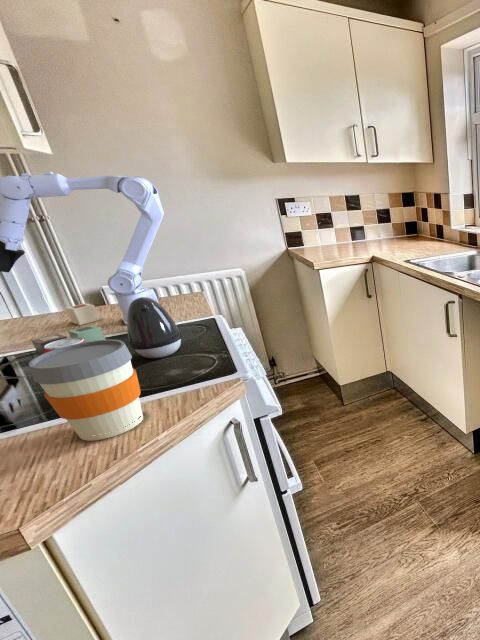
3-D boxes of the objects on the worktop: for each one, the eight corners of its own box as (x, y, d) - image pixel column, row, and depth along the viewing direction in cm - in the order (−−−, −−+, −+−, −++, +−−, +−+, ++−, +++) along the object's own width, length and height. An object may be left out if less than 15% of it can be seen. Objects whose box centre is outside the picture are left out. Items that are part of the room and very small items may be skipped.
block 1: (65, 350, 111) (57, 333, 110) (74, 354, 109) (66, 336, 108) (40, 358, 107) (31, 340, 105) (49, 361, 105) (39, 343, 103)
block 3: (98, 341, 117) (91, 324, 115) (107, 344, 115) (100, 327, 113) (75, 348, 113) (67, 330, 111) (84, 351, 111) (76, 333, 109)
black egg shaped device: (137, 366, 102) (113, 307, 96) (135, 353, 109) (113, 297, 103) (188, 354, 108) (168, 297, 102) (183, 343, 115) (165, 289, 109)
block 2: (92, 317, 136) (85, 302, 134) (100, 319, 134) (93, 304, 132) (72, 322, 132) (65, 307, 130) (80, 324, 130) (73, 309, 128)
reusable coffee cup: (171, 411, 83) (144, 341, 77) (101, 451, 71) (63, 372, 65) (122, 405, 85) (92, 336, 79) (46, 442, 74) (5, 365, 68)
